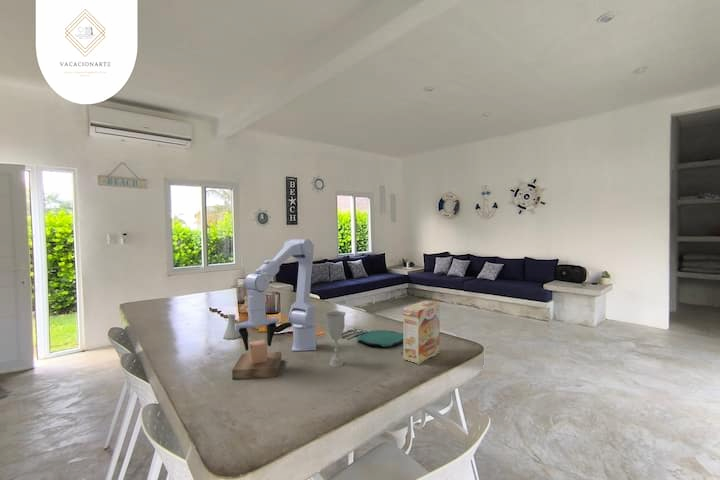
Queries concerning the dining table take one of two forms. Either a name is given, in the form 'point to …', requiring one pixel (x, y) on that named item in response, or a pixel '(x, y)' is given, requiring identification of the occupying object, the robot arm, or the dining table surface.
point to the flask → (231, 328)
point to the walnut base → (257, 367)
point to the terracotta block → (258, 351)
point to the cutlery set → (377, 337)
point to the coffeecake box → (421, 331)
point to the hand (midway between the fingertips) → (258, 347)
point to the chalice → (335, 333)
